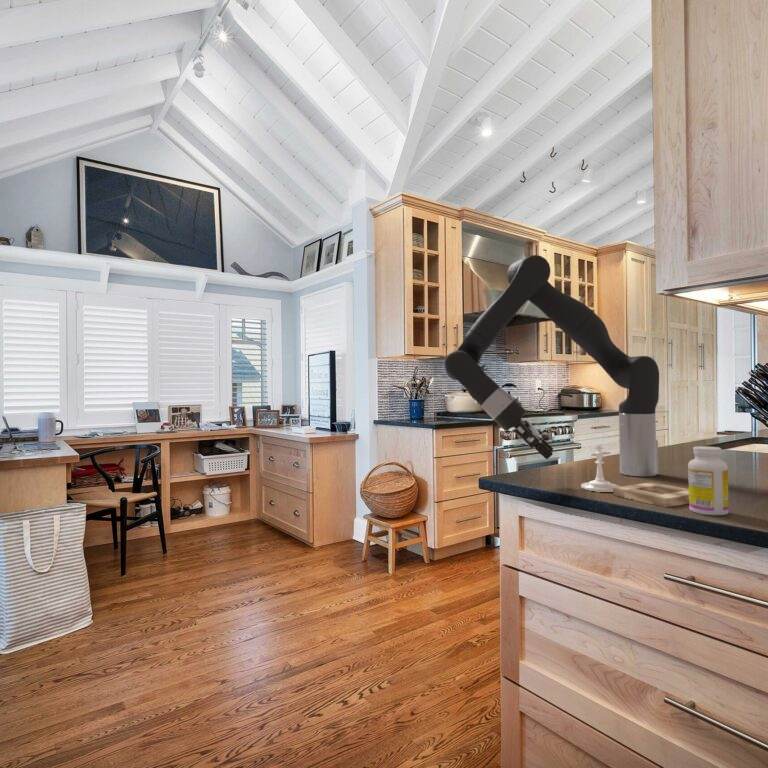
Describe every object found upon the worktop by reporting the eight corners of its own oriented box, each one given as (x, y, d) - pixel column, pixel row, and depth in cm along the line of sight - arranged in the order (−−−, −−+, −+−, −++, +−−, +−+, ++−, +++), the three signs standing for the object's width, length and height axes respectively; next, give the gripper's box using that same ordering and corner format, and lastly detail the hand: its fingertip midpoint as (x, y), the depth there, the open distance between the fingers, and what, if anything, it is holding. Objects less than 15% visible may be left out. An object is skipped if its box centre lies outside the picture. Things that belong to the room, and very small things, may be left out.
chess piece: (595, 482, 127) (594, 443, 127) (614, 485, 124) (614, 444, 124) (585, 485, 124) (584, 444, 124) (604, 488, 120) (604, 446, 120)
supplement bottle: (717, 508, 103) (716, 445, 103) (736, 516, 97) (735, 449, 97) (682, 508, 104) (681, 445, 104) (699, 516, 97) (698, 449, 97)
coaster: (599, 484, 130) (598, 480, 130) (629, 490, 122) (629, 487, 122) (573, 487, 126) (573, 484, 126) (603, 494, 118) (602, 490, 118)
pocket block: (651, 489, 122) (651, 482, 122) (705, 500, 110) (705, 492, 110) (613, 495, 116) (613, 487, 116) (666, 507, 105) (666, 498, 105)
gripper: (511, 399, 124) (561, 447, 120) (516, 397, 137) (561, 441, 133) (489, 421, 126) (538, 469, 122) (496, 417, 139) (540, 460, 135)
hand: (550, 454), depth 128 cm, fingers open, 8 cm apart
